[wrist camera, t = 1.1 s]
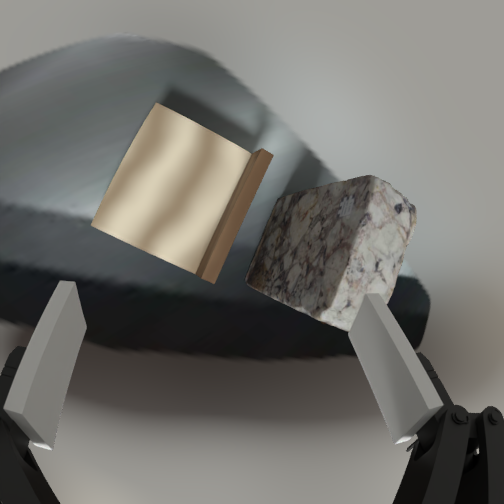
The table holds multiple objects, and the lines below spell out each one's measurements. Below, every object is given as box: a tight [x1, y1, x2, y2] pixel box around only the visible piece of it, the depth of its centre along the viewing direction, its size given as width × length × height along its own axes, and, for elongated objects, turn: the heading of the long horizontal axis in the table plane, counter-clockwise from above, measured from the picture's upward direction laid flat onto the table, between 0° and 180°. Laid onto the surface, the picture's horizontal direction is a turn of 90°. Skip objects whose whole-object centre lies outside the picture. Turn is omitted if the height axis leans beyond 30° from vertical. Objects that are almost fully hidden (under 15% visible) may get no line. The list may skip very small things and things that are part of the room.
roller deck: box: [91, 103, 274, 284], centre depth 34 cm, size 14×15×8 cm
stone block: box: [245, 175, 416, 332], centre depth 33 cm, size 13×7×20 cm, turn 160°
